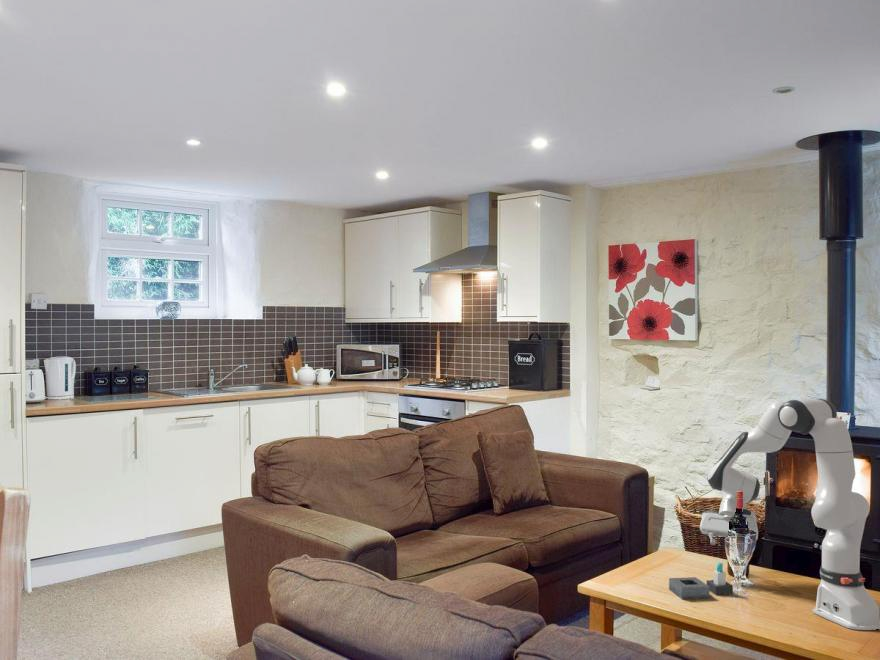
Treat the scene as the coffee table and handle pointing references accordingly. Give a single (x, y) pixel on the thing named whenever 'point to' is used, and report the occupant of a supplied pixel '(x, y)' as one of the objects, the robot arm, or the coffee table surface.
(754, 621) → the coffee table surface
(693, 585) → the port block
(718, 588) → the holster
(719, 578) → the plug
